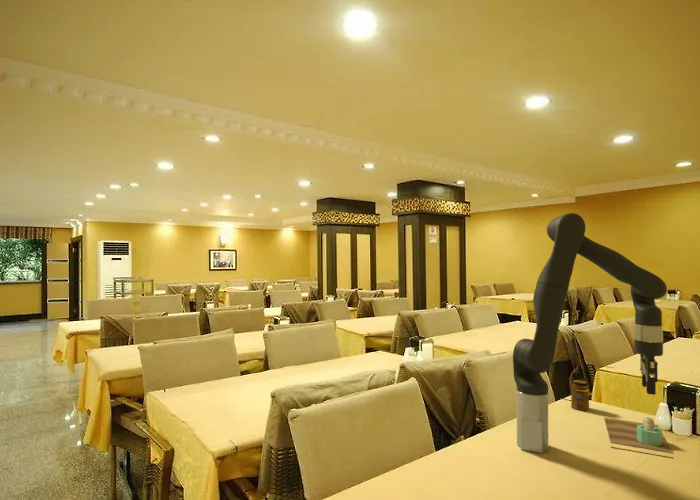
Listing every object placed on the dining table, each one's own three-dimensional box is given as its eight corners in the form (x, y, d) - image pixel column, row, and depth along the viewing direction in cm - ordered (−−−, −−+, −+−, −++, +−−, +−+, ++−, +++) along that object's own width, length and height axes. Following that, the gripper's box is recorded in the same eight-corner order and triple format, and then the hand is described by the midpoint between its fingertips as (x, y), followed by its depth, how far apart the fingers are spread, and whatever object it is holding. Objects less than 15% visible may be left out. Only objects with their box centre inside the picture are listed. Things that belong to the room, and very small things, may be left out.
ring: (663, 447, 130) (662, 434, 130) (638, 443, 133) (638, 430, 133) (659, 439, 136) (658, 426, 136) (635, 435, 138) (635, 423, 138)
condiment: (593, 413, 163) (593, 382, 163) (582, 418, 158) (582, 385, 158) (575, 407, 169) (574, 377, 169) (563, 412, 164) (563, 380, 164)
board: (673, 458, 126) (673, 428, 126) (610, 447, 133) (610, 419, 133) (657, 429, 147) (657, 403, 147) (604, 421, 154) (603, 396, 155)
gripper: (631, 334, 143) (631, 382, 143) (637, 341, 130) (637, 394, 130) (658, 336, 140) (658, 386, 139) (667, 344, 127) (668, 398, 126)
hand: (648, 390), depth 134 cm, fingers open, 8 cm apart
